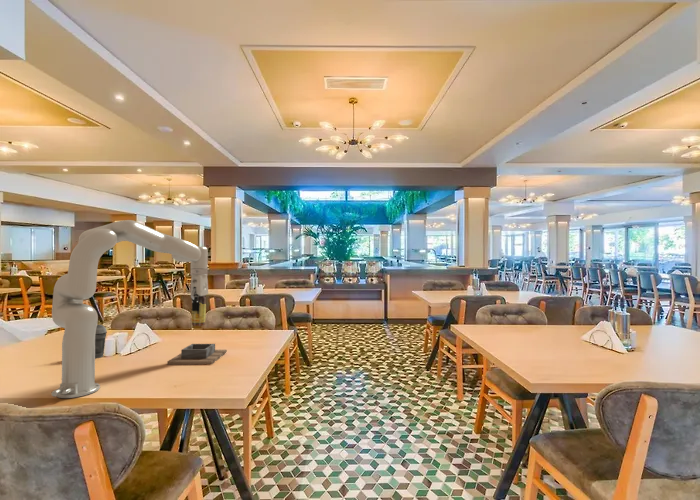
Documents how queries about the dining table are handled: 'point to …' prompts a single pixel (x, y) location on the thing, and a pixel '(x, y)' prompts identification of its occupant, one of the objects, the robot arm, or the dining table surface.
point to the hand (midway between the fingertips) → (198, 309)
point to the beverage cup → (100, 341)
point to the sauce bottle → (199, 313)
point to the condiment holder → (197, 355)
